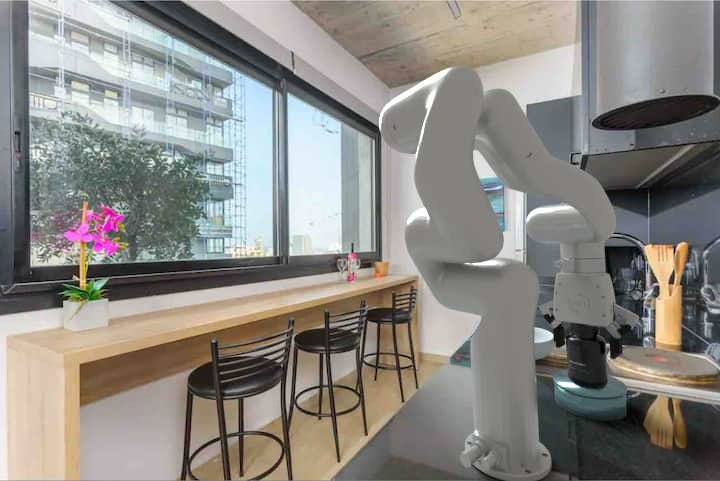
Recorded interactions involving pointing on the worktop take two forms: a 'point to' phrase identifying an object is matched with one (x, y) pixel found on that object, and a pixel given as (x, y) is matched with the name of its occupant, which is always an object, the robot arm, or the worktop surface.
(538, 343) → the cereal bowl
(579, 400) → the biscuit tin
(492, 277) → the robot arm
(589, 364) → the supplement bottle
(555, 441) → the worktop surface
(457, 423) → the worktop surface
